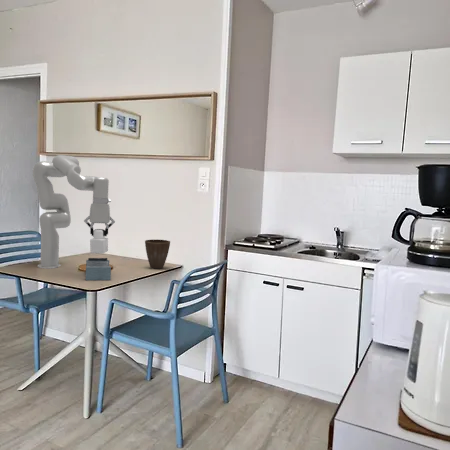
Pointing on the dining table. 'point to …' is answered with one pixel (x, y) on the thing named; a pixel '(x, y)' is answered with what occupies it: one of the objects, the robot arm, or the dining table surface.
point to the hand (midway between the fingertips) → (99, 235)
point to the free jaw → (97, 262)
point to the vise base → (98, 272)
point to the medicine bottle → (99, 242)
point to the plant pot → (157, 252)
